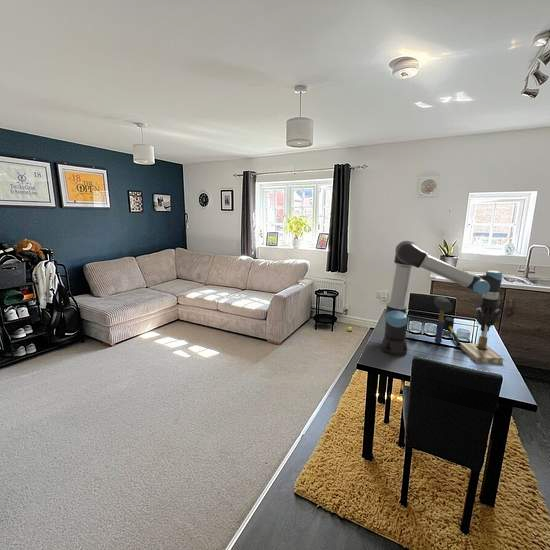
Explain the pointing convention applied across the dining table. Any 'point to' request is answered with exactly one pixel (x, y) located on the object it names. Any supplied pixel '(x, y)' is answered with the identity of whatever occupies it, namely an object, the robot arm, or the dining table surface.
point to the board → (481, 353)
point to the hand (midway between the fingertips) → (483, 336)
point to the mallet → (450, 328)
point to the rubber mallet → (441, 315)
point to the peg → (482, 343)
